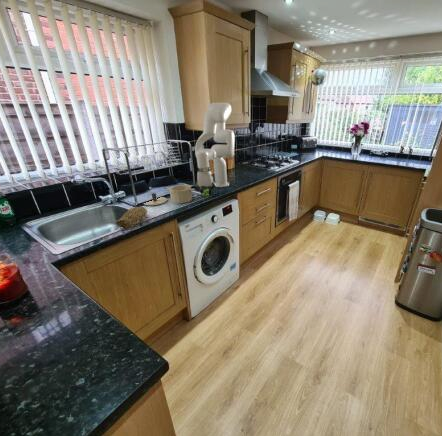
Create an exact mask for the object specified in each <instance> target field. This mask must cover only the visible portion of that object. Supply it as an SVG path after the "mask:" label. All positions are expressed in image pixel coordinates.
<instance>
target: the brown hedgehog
mask: <svg viewBox="0 0 442 436" xmlns="http://www.w3.org/2000/svg"><path fill="white" fill-rule="evenodd" d="M147 214H148V210H147V209H146V207H144V206H135V207H131V208H129V209H128V210H127V211H125V212H123V216H121V217H120V218H119V219H118V220H116V221H115V224H116V226H118V227H119V228H123V229H126V230H128V229H131V228H133V227H135V226H136V225H137V224H139V223H140V222H142V221H143V220H144V219H145V218H146V217H147Z"/></svg>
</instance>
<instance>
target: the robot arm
mask: <svg viewBox="0 0 442 436" xmlns="http://www.w3.org/2000/svg"><path fill="white" fill-rule="evenodd" d="M231 114H232V105H231V104H230V103H229V102H212V103H211V102H210V103H209V104H208V105H207V110H206V111H205V113H204V119H203V131H202V133H201V135H200V136H199V137H198V138H197V140H196V143H195V149H194V154H195V158H196V163H197V173H196V175H197V176H196V179H197V182H196V183H195V184H194V186H195V187H197V188H198V189H199V190H200V195H202V193H203V192H204V190H205V189H204V187H208V190H209V196H210V197H211V196H212V195H213V189H214V188H226V187H229V186H230V182H228V174H227V162H226V159H232V158H233V157H234V155H235V147H236V146H235V141H236V136H235V132H234V131H233V130H232V129H226V122H227V121H228V119H229V117H230V116H231ZM210 139H213V141H214V142H215V143H217V144H213V145H212V146H211V148H203V145H204V144H205V143H206V142H207V141H208V140H210ZM209 161H212V162H213V170H214V171H213V173H214V177H213V173H212V167H210V162H209ZM209 196H208V197H209Z"/></svg>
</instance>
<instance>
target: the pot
mask: <svg viewBox="0 0 442 436" xmlns="http://www.w3.org/2000/svg"><path fill="white" fill-rule="evenodd" d="M165 191H166V192H167V191H169V195H170V196H169V197H170V202H172V203H173V204H186V203H190V202H191V201H193V193H192V192H194V191H196V189H195V188H192V186H191V185H189V184H178V185H173V186H171V187H167V188H166V189H165Z"/></svg>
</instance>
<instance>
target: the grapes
mask: <svg viewBox="0 0 442 436" xmlns="http://www.w3.org/2000/svg"><path fill="white" fill-rule="evenodd" d="M201 197H207V198H208V197H209V188H205V189H204V192H203V193H202V194H201Z"/></svg>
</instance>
